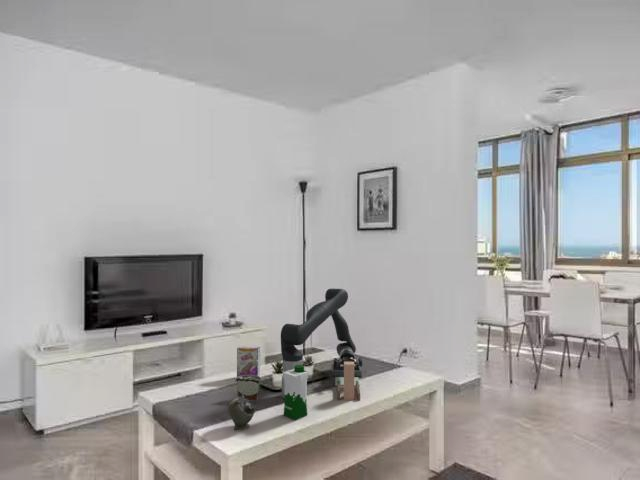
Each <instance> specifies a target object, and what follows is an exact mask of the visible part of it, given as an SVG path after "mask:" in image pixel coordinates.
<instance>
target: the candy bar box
mask: <svg viewBox="0 0 640 480" xmlns="http://www.w3.org/2000/svg"><path fill="white" fill-rule="evenodd" d="M260 362H261V346H254V345H253V346H251V345H250V346H249V345H239V346H238V347H237V348H236V377H238V376H241V375H257V376H259V377H260V378H261V375H260V374H261V373H260V372H261V363H260Z"/></svg>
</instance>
